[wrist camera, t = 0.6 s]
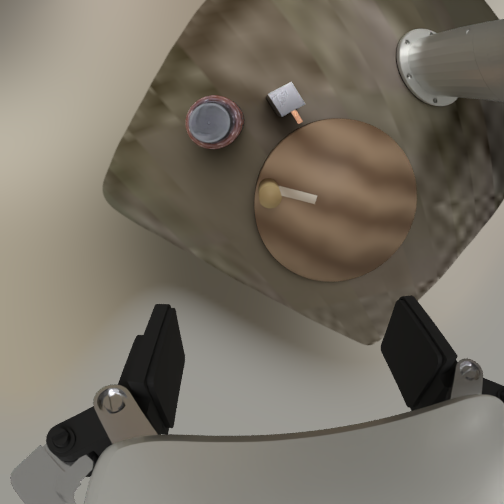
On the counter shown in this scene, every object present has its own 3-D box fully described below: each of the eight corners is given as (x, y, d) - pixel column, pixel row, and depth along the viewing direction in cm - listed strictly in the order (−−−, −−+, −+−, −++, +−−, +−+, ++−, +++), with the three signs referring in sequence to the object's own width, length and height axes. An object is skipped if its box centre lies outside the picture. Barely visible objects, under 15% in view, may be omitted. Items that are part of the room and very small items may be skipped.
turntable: (278, 96, 32) (284, 92, 27) (430, 153, 35) (454, 162, 29) (237, 257, 43) (235, 281, 38) (375, 285, 46) (389, 308, 40)
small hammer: (285, 86, 32) (291, 81, 27) (303, 116, 34) (312, 117, 29) (265, 97, 33) (267, 94, 28) (284, 126, 35) (289, 129, 29)
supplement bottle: (246, 139, 36) (244, 150, 26) (202, 145, 36) (182, 158, 26) (242, 96, 33) (237, 89, 23) (196, 102, 33) (174, 99, 23)
